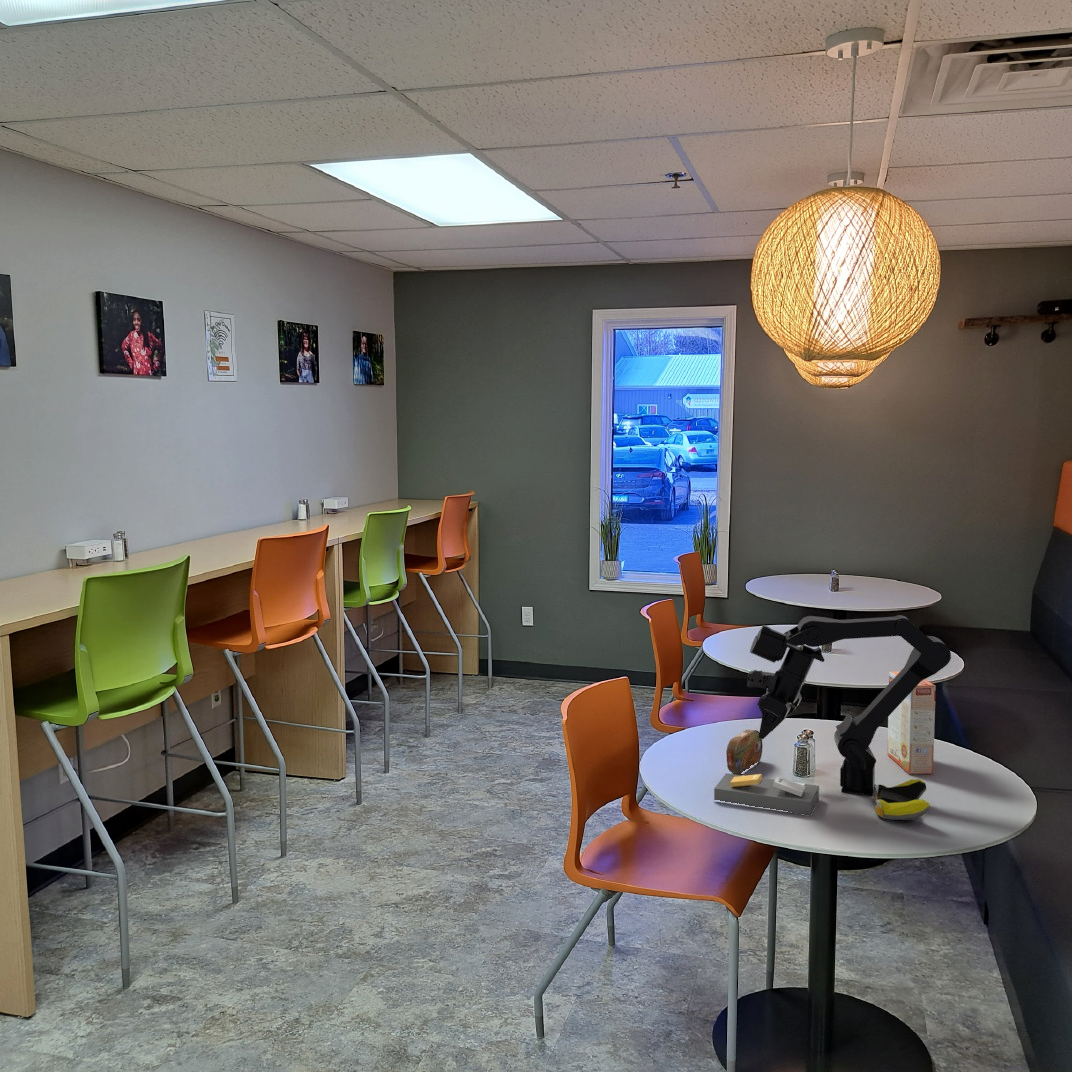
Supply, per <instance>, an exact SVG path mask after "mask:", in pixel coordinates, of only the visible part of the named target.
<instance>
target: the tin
mask: <svg viewBox="0 0 1072 1072" xmlns="http://www.w3.org/2000/svg"><path fill="white" fill-rule="evenodd" d="M759 732H760V730H756V729H755V730H753V729H745V730H743V731H742V732H740V733H739V734H738V735H735V736H734V737H732V738H731V739H730V740H729V742H728V744H727V746H726V764H727V766H726V767H727V769H728V771H729V772H730V773H731V772H732V773H731V774H735V773H737V774H736V775H740V774H741V773H742V772H743V771H745V770H746V769H749V768H750V766H751V765H754V764H755V763H757V762H759V763H760V761H761V759H762V754H763V739H761V738H759Z"/></svg>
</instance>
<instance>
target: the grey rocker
mask: <svg viewBox="0 0 1072 1072" xmlns="http://www.w3.org/2000/svg"><path fill="white" fill-rule="evenodd" d="M774 780H775V781H774V783H773V786H774V787H777V788H779V789H782V790H785V791H787V792H790V793H792V794H795V795H798V796H800V797H801V796H802V795H803V793H804V791H805V786H803V785H800V784H797V783H798V782H796V783H795V782H794V781H792V780H789V779H787V778H784V777H780V776H778V775H777V776H776V778H775V779H774Z"/></svg>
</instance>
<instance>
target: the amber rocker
mask: <svg viewBox="0 0 1072 1072" xmlns="http://www.w3.org/2000/svg"><path fill="white" fill-rule="evenodd" d="M762 778H763V774H762V773H758V774H757V773H756V774H749V775H744V776H738V777H734V778H733V779H732V780H731V782H730V784H731V787H736V786H745V785H755V784H759V783H760V781H761V780H762Z"/></svg>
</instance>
